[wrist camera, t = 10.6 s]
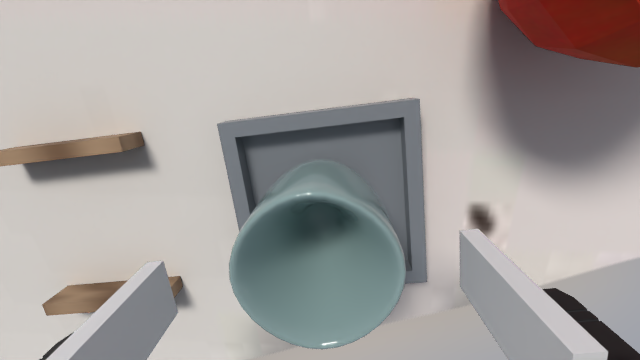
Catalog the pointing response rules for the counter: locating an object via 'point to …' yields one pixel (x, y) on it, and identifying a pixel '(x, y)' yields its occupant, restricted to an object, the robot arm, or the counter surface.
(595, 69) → the counter surface
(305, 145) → the dock cradle
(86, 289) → the dock rails
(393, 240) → the cup
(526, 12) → the apple
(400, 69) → the counter surface
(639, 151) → the counter surface
